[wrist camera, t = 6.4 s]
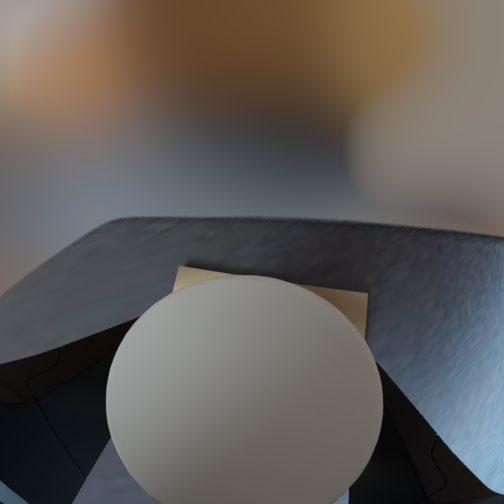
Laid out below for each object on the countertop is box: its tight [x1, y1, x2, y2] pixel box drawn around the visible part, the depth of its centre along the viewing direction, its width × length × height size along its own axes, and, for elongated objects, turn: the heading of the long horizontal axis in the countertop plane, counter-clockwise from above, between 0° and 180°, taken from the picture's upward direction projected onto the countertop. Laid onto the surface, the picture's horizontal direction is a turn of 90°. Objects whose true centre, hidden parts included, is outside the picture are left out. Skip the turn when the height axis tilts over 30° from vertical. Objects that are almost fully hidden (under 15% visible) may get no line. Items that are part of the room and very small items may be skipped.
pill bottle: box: [106, 275, 383, 504], centre depth 9 cm, size 6×6×11 cm
